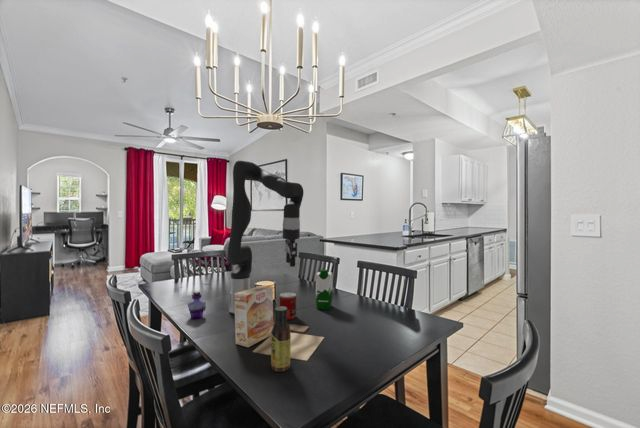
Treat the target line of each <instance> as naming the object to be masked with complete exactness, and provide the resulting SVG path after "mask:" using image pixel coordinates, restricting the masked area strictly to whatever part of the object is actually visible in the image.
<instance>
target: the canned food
mask: <svg viewBox="0 0 640 428" xmlns="http://www.w3.org/2000/svg"><path fill="white" fill-rule="evenodd" d="M280 306H284V307H287V321H289V320H290V321H291V320H295V319H296V317H297V293H295V292H288V291H287V292H281V293H280V294H279V307H280Z"/></svg>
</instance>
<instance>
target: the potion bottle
mask: <svg viewBox="0 0 640 428" xmlns="http://www.w3.org/2000/svg"><path fill="white" fill-rule="evenodd" d="M191 299H192V301H189V302H187V308H188V311H189V315H190V319H191V320H201V319H202V318H203V316H204V312H205V311H206V308H207V306H206V304H207V302H206V300H201V299H202V293H201V291H194V292H192V295H191Z"/></svg>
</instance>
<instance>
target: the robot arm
mask: <svg viewBox="0 0 640 428" xmlns="http://www.w3.org/2000/svg"><path fill="white" fill-rule="evenodd" d="M246 181H255V182H260V183H261V184H262V186H264V187H265V188H267V189H268V190H271V191H273V192H275V193H277V194H278V195H279V196H280V197H283V198H285V199H289V202H288V203H287V204H285V205H284V206H283V221H282V239H283V240H285V241H284V242H285V244H284V245H285V246H284V253H285V256H286V257H285V262H286V263H288V264H289V266H290V267H292V268H293V267H296V258H297V257H298V242H296V240H299V239H300V238H301V237H300V236H301V235H300V234H301V233H300V231H301V223H300V222H301V221H300V220H301V219H300V212H301V211H300V210H301V209H300V208H301V206H302V201H303V199H304V188H303V186H302V184H301V183H299V182H290V181H287V180H286V179H285V178H283V177H281V176H278V175H277V174H274V173H271V172H269V171H267V170H265V169H263V168H262V167H260V166H259V165H257V164H256V163H254V162H252V161H246V160H242V159H241V160H236V161H235V163H234V165H233V169H232V185H233V189H232V190H233V191H232V192H233V193H232V208H231V209H232V210H231V226H230V236H229V240H228V248H227V261H228V263H229V264H230V265H231V266H236V268H235V269H234V270H232V271H231V273H230V293H229V295H228V297H229V298H228V303H229V305H228V307H229V309H228V311H229V312H228V313H231V314H234V315H235V300H234V293H238V292H241V291H244V290H248V289H251V277H250V276H251V273H252V267H253V265H252V263H253V251H252V249H251V247H250V246H249V245H247V244H242V239H243V236H244V234H245V232H246V230H247V229H248V227H249V224H250V222H251V220H252V204H251V202H250V199H249V197H248V195H247V193H246Z"/></svg>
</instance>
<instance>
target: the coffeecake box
mask: <svg viewBox="0 0 640 428" xmlns="http://www.w3.org/2000/svg"><path fill="white" fill-rule="evenodd" d="M273 294H274V293H273V286H270V285H269V286H267V285H258V286H254V287H250V289H248V290H244V291H241V292H238V293H234V300H235V314H234V326H235V327H234V329H235V336H234V337H235V345H239V346H241V347H244V348H245V347H246V348H250V347H251V346H254V345H256V344H257V343H259V342H261V341H264V340H266V339H268V338H269V337H270V336H271V332H272V329H273V322H274V302H273V301H274V298H273V297H274V296H273Z"/></svg>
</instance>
